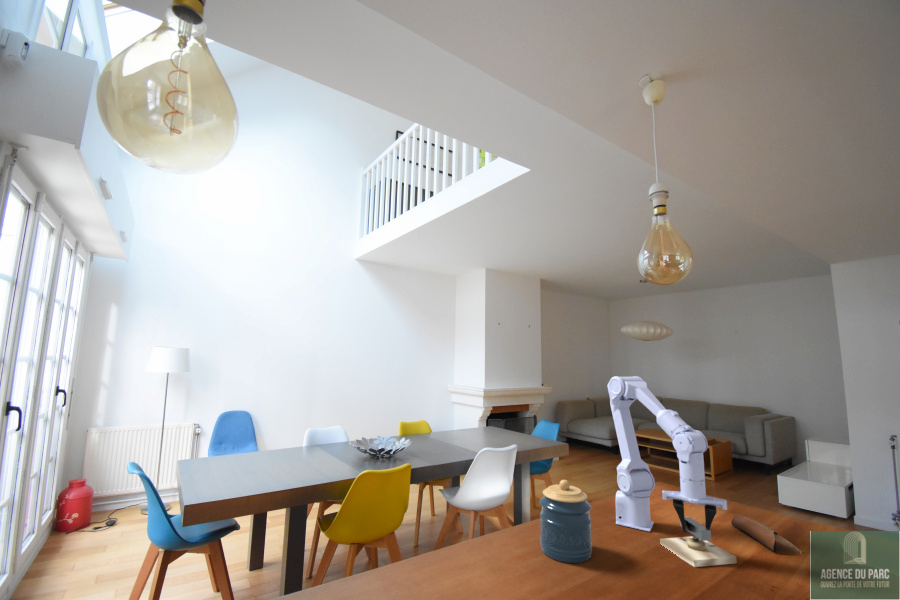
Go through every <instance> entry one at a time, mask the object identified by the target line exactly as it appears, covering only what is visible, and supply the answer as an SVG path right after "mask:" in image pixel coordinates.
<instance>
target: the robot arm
mask: <svg viewBox="0 0 900 600" xmlns="http://www.w3.org/2000/svg"><path fill="white" fill-rule="evenodd" d="M606 386H607V391H608V395H609V405H610V410H611V414H612V419H613V422H614V429H615V432H616V437H617V441H618V446H619V452H620V456H621V461H620V463H618V465H617V466H616V472H617V475H616V482H617V485H618V488H619V490H617V491H616V492H615V503H614V504H615V525H618V526H622V527H626V528H627V527H628V528H632V529H636V530H640V531H646V532H651V530H652V528H653V526H654V521H653V520H651V503H650V500H651V499H650V495H652V491H653V490H654V488H655V485H656V482H655V477H654V476H653V475H654V474H652V472H651V470H650V466H649V465H648V463H647V462H645V461H644V460H643V459H642V458H641V454H640V450H639V445H638V440H637V436H636V432H635V427H634V424H633V418H632V415H631V411H630V407H631V405H632V404H633V403H634V402H635V401H637V400H638V401H639V402H640V403H641V404H642V405H643V406H644V407H645V408H647V409H648V411H649V412H650V413H652V414H653V415H654V416H655V417H656V423H657V425H658V426H659V427H660V429H662V430H663V431H664V432H665V434H666V435H668V437H669V438H670V439H671V440H672V441H671V442H672V446H673V448H674V450H675V451H676V457H677V459H678V465H679V466H678V467H679V483H680V484H679V485H680V491H675V490H674V491H673V490H662V492H661V493H662V501H672V506H673V508H674V510H675V512H676V514H677V516H678V519H679V522H680V521H681V525H682V527H681V528H682V533H686V534H687V530H686V524H685V517H684V516H685V506H684V503H687V504H693V505H700V506H703V507H704V519H705V522H704V524H705V525H704V526H705V527H706V528H708V529H709V530H711V526H712V522H713V521H714V518H715V516H716V515H717V511H718V510H717V508H718V509H722V510H725V511H727V510H728V502H727V500H726V499H723V498H720V497H719V498H718V497H713V496H709V495H707V493H706V490H707V489H706V479H705V478H706V476H705V475H706V473H705V461H704V453H705V452H707V450H708V446H709V444H708V443H709V442H708V440H707V438H706V436H705V435H704V434H703V433H704V432H702V431H700V430H696V429H693V427H692V426H691V425H690V424H688V423H687V422H685V421H684V420H683V419H682V418H681V416H679V415H680V414H679V413H678V411H674V410H673V409H666V407H665V406H664V405H663V404H662V402H661V401H659V399H658V398H657V397H656V396H655V395H654V394H653V392H652V391H651V390H650V389H649V388H648V383H647V382H646V381H644V380H643V378H641V377H640V376H637V375H633V376H618V375H616V376H612V377H611V378H610V379H609V381H608V383H607V385H606Z"/></svg>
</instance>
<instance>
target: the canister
mask: <svg viewBox="0 0 900 600" xmlns="http://www.w3.org/2000/svg"><path fill="white" fill-rule="evenodd" d="M542 494H543V496H541V498H540V499H539V504H540V505H541V511H540V512H539V517H540V536H539V539H540V541H539V542H540V543H539V544H540V546H541V547H540V548H541V552H542V553H543V554H545V555H546V556H547V557H549V558H550V559H553V560H556V561H558V562H564V563H568V564H569V563H572V564H576V563H583V562H586V561H588V560H590V559H591V558H592V553H593V544H592V525H591V524H592V518H591V517H590V511H591V509H592V506H591V504H590V503H589V501H587V500H588V495H587V493H585V492H584V491H582V489H580V488H579V487H577V486H574V485H571V484H570V482H569V481H568V480H567V479H561V480H560V481H559V484H557V483H556V484H552V485H549V486H548V487H546V488H544V489H543V490H542Z"/></svg>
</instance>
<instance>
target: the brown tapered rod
mask: <svg viewBox="0 0 900 600" xmlns="http://www.w3.org/2000/svg"><path fill="white" fill-rule="evenodd" d="M730 522H731V525H732V527H735V528H736V529H738V530H740V531H742V532H744V533H746V534H747V535H748V536H750V537H752V538H753V539H755V540H757V542H759V543H761V544H762V545H764V546H766V547H767V548H769V550H771V551H773V552H774V553H775V554H776V555H801V554H800V553H802V552H803V551H802V550H801V549H800V548H798V547H797V546H796V545H794V544H793V543H792V542H790V540H787V539H786V538H784V537H783V536H781V535H780V534H779V532H778V531H776V530H774V529H773V528H771V527H769V526H767V525H764V524H763V523H761V522H759V521H758V520H754V519H752V518H749V517H748V516H747V517H746V516H743V515H734V516H733V517H732V519H731V521H730Z"/></svg>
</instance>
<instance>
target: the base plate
mask: <svg viewBox="0 0 900 600" xmlns="http://www.w3.org/2000/svg"><path fill="white" fill-rule="evenodd" d="M659 544H661V545H662V546H661V545H660V546H661V547H663V546H664V547H665V549H666V548H667V549H668V550H667V549H666V550H667V551H669V550H670V551H671V553H672V552H673V553H672V554H673V555H675V554H676V556H677V557H678V558H680V559H681V560H682V561H684V562H686V563H688V565H690V566H692V567H693V568H699V567H711V566H713V567H714V566H721V565H723V566H724V565H733V564H734V565H735V564H737V563H738V561H737V556H735V555H734V554H732V553H730V552H728V551H727V550H725V549H723V548H721V547H720V546H717V545H716V544H714V543H712V542H711V541H702V540H700V539H699V541H694V540H693V535H692V536H691V535H690V536H683V537H682V536H681V537H680V536H679V537H665V538H659ZM664 547H663V548H664ZM670 551H669V552H670Z"/></svg>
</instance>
